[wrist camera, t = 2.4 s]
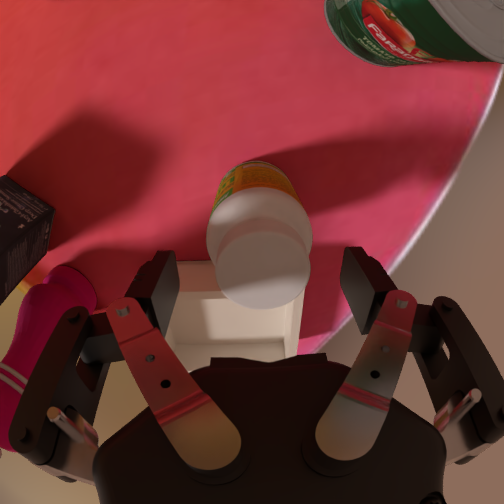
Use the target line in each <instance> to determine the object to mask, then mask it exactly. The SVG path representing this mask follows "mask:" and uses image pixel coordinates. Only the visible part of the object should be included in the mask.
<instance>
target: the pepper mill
mask: <svg viewBox="0 0 504 504" xmlns="http://www.w3.org/2000/svg"><path fill="white" fill-rule="evenodd" d="M96 304H97V297H96V294H95V291H94V289H93V287H92V285H91V284H90V282H89V281H88V280H87V279H86V278H85V277H84V276H83V275H82V274H81V273H80V272H78V271H76V270H75V269H73V268H70V267H67V266H57V267H55V268H53V269H52V270H51V271H50V273H49V274H48V275H47V276H46V277H45V279H44V280H43V284H37V285H35V286H33V287H32V288H30V290H29V291H28V292H27V294H26V295H25V297H24V299H23V301H22V304H21V307H20V309H19V313H18V319H17V324H16V329H15V334H14V338H13V341H12V344H11V346H10V348H9V350H8V352H7V354H6V356H5V357H4V358H3V360H2V361H1V362H0V447H1V448H3V449H5V450H8V451H11V452H16V451H15V450H14V449H13V448H12V446H11V445H10V442H9V438H8V432H9V428H10V425H11V422H12V419H13V416H14V414H15V411H16V408H17V406H18V403H19V401H20V398H21V396H22V393H23V391H24V389H25V386H26V384H27V382H28V380H29V377H30V375H31V373H32V371H33V369H34V367H35V365H36V363H37V361H38V358H39V356H40V354H41V353H42V351H43V349H44V347H45V345H46V343H47V341H48V339H49V337H50V335H51V334H52V332H53V330H54V328H55V326H56V325H57V323H58V321H59V319H60V318H61V316H62V314H63V313H64V312H65V311H67V310H68V309H70V308H72V307H75V306H84V307H86V308H87V309H88V311H89V314H90V315H92V313H93V311H94V310H95V308H96ZM1 455H2V453H1V449H0V458H1Z"/></svg>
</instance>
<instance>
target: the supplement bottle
mask: <svg viewBox="0 0 504 504" xmlns="http://www.w3.org/2000/svg"><path fill="white" fill-rule="evenodd" d="M312 239H313V235H312V228H311V224H310V221H309V218H308V215H307V213H306V211H305V209H304V207H303V205H302V203H301V201H300V199H299V198H298V196H297V194H296V192H295V190H294V188H293V186H292V184H291V182H290V181H289V179H288V177H287V176H286V175H285V174H284V172H283V171H281V170H280V169H279V168H278V167H276V166H274V165H272V164H270V163H267V162H263V161H249V162H244V163H241V164H239V165H237V166H235V167H234V168H232V169H231V170H230V171H229V172H228V173H227V174H226V175H225V176H224V177H223V179H222V181H221V183H220V185H219V188H218V191H217V195H216V198H215V202H214V205H213V208H212V212H211V215H210V219H209V222H208V226H207V232H206V245H207V250H208V253H209V256H210V258H211V260H212V262H213V264H214V265H215V276H216V281H217V283H218V286H219V288H220V289H221V291H222V292H223V294H224V295H225V296H226V297H227V298H228V299H230V300H231V301H233V302H234V303H236V304H238V305H240V306H242V307H245V308H249V309H255V310H267V309H273V308H277V307H281V306H283V305H285V304H287V303H289V302H291V301H292V300H294V299H295V298H296V297H297V296H299V295H300V294H301V292H302V291H303V290H304V288H305V287H306V285H307V283H308V280H309V277H310V271H311V266H310V260H309V253H310V251H311V247H312Z"/></svg>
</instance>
